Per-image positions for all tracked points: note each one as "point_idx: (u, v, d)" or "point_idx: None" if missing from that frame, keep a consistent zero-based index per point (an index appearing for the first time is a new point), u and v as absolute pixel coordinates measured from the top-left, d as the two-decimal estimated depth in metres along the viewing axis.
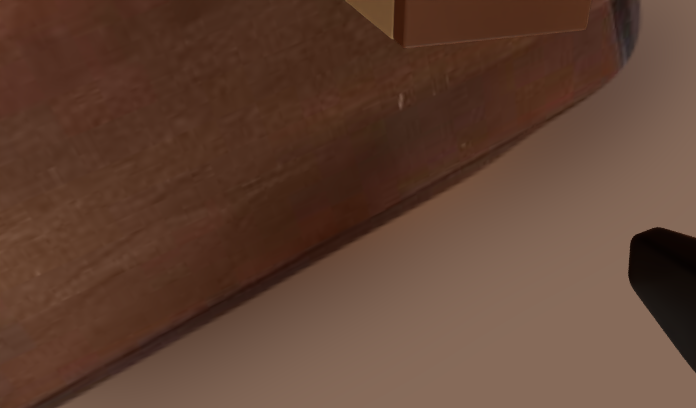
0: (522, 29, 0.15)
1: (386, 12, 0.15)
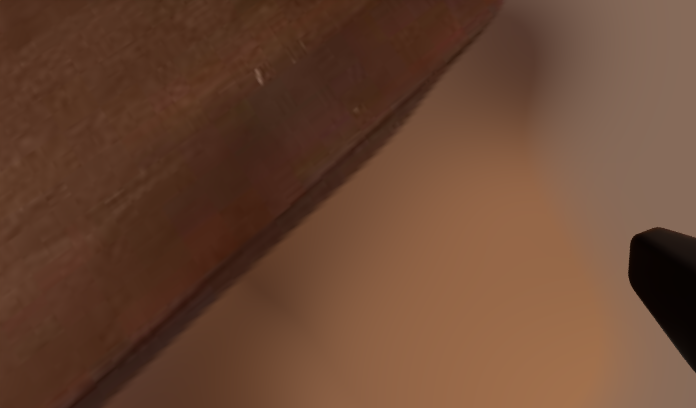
0: None
1: None
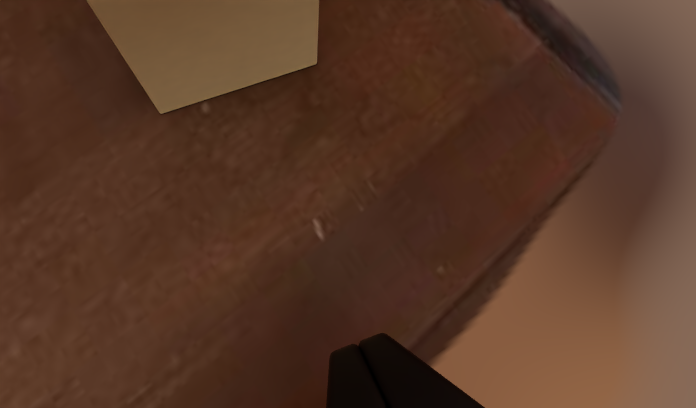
0: None
1: None
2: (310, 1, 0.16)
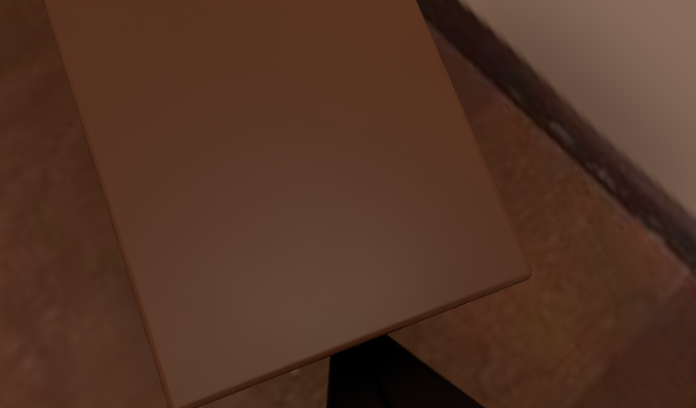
0: (398, 311, 0.08)
1: None
2: None
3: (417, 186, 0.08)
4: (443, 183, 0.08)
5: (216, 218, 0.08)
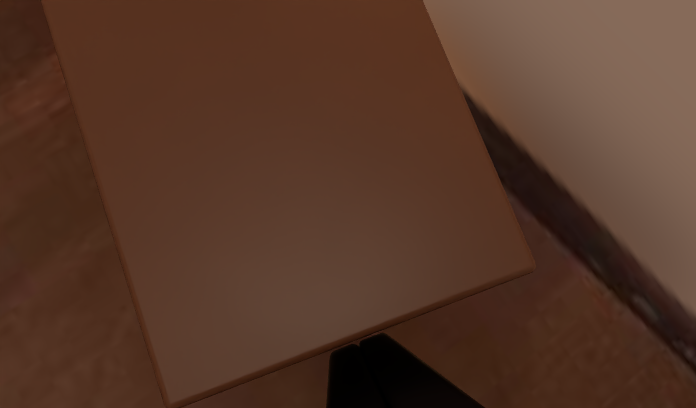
0: (399, 305, 0.08)
1: None
2: None
3: (418, 177, 0.08)
4: (445, 174, 0.08)
5: (213, 210, 0.08)
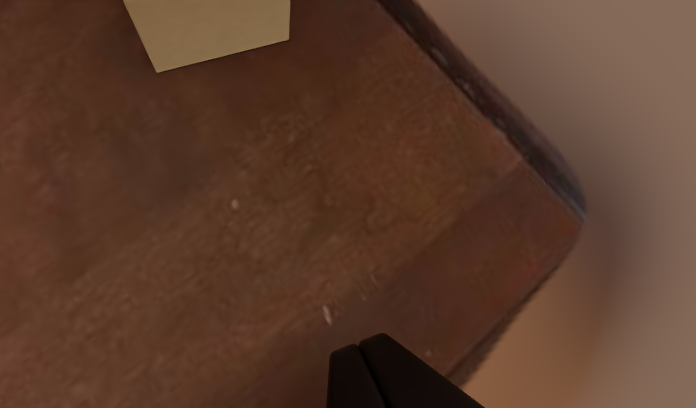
0: None
1: None
2: None
3: None
4: None
5: None
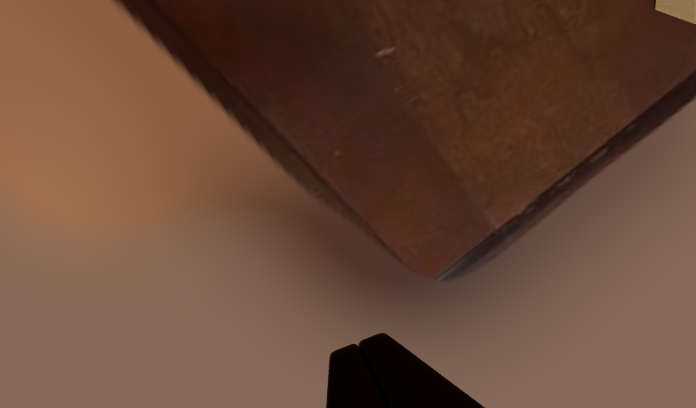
0: None
1: None
2: None
3: None
4: None
5: None
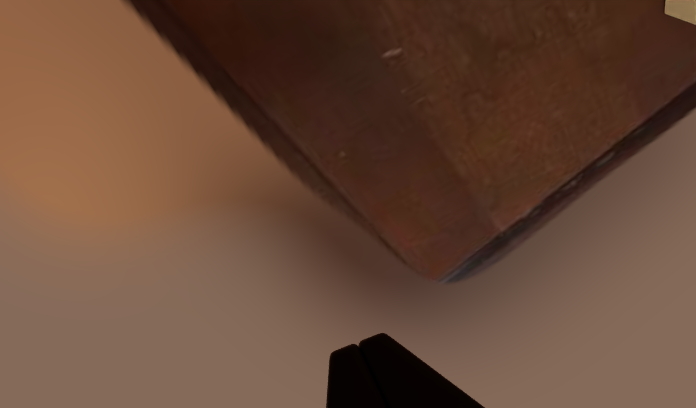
0: None
1: None
2: None
3: None
4: None
5: None
